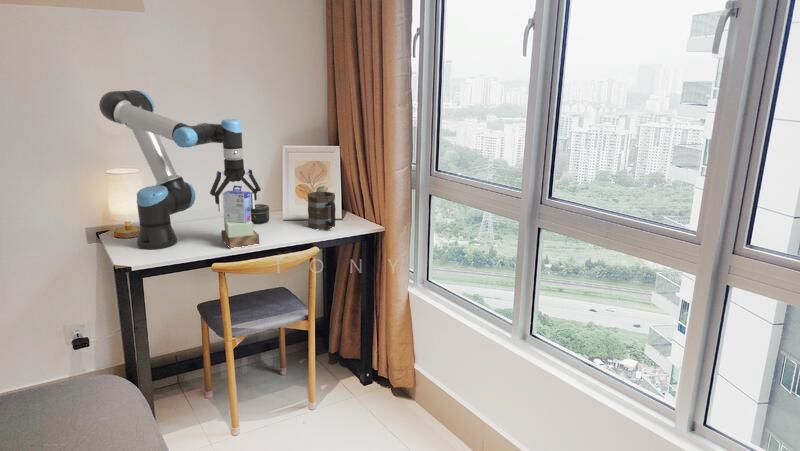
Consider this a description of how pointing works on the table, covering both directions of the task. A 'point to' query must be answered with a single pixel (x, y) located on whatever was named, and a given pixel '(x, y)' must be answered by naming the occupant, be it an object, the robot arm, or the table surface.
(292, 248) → the table surface
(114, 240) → the table surface
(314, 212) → the mug
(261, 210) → the jar
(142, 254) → the table surface
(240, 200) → the ink cartridge box
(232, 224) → the sage top block
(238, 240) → the walnut base block
